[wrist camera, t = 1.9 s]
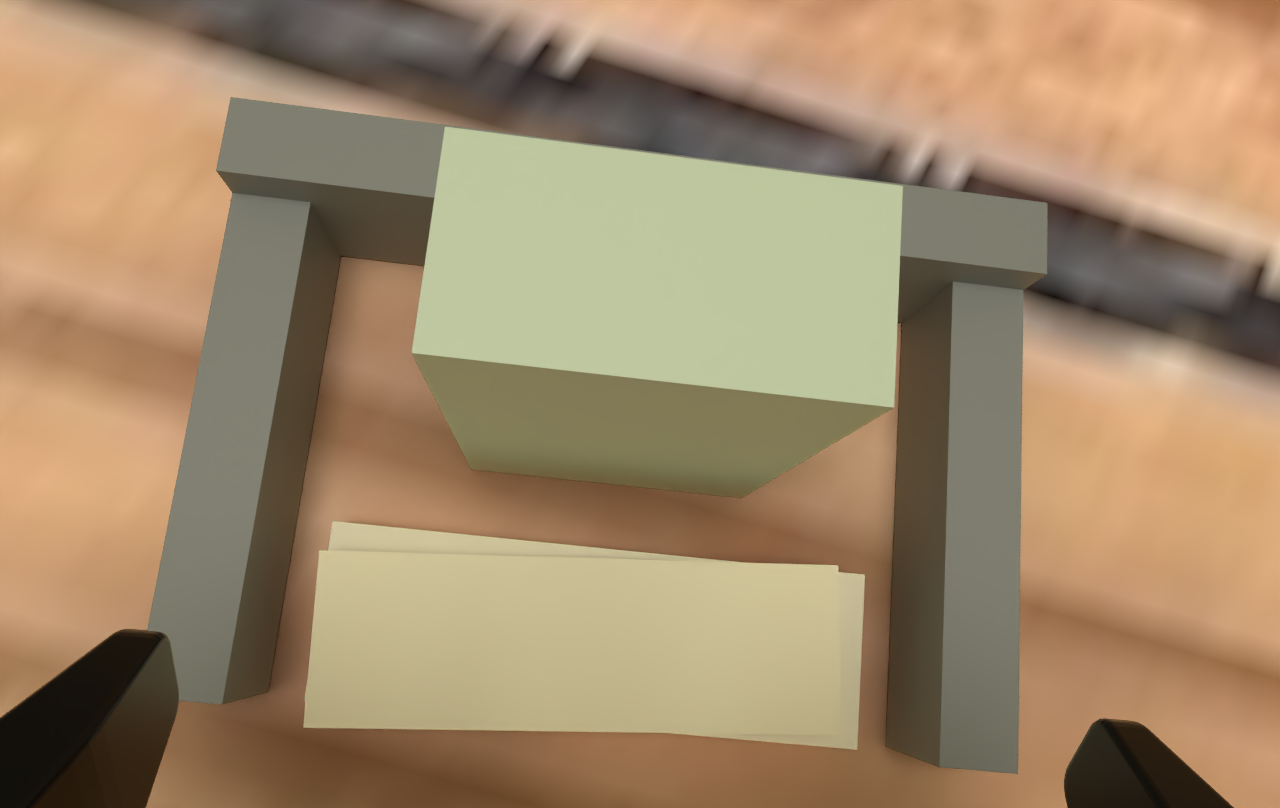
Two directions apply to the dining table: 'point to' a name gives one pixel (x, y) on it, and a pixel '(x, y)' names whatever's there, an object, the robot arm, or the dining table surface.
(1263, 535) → the dining table surface
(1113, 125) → the dining table surface
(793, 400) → the green block
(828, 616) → the frame
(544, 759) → the dining table surface
